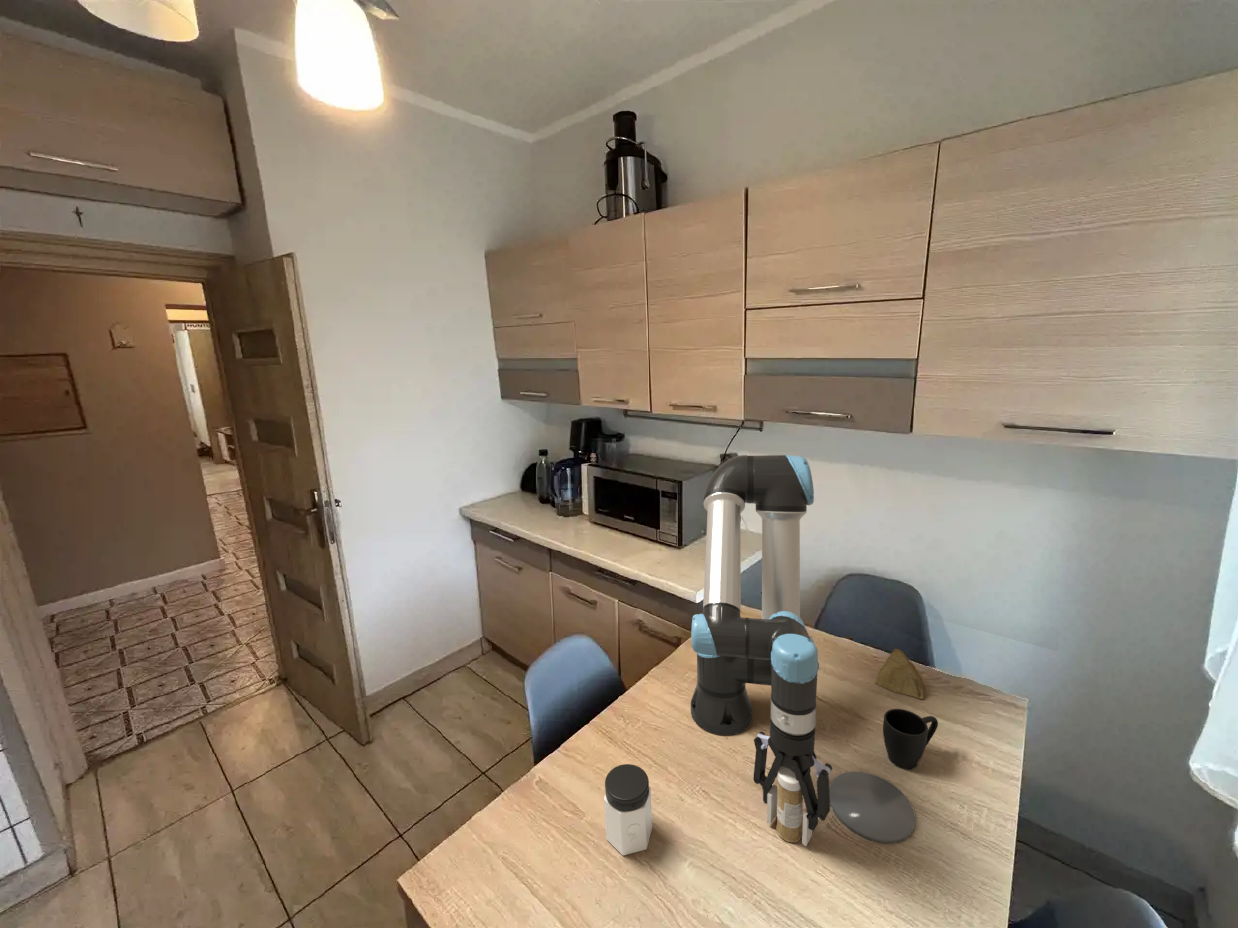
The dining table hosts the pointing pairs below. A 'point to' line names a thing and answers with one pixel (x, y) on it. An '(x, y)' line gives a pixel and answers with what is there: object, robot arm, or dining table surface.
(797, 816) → the sprinkles bottle
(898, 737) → the mug
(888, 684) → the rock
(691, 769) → the dining table surface
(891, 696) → the dining table surface
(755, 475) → the robot arm
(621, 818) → the jar
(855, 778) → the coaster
